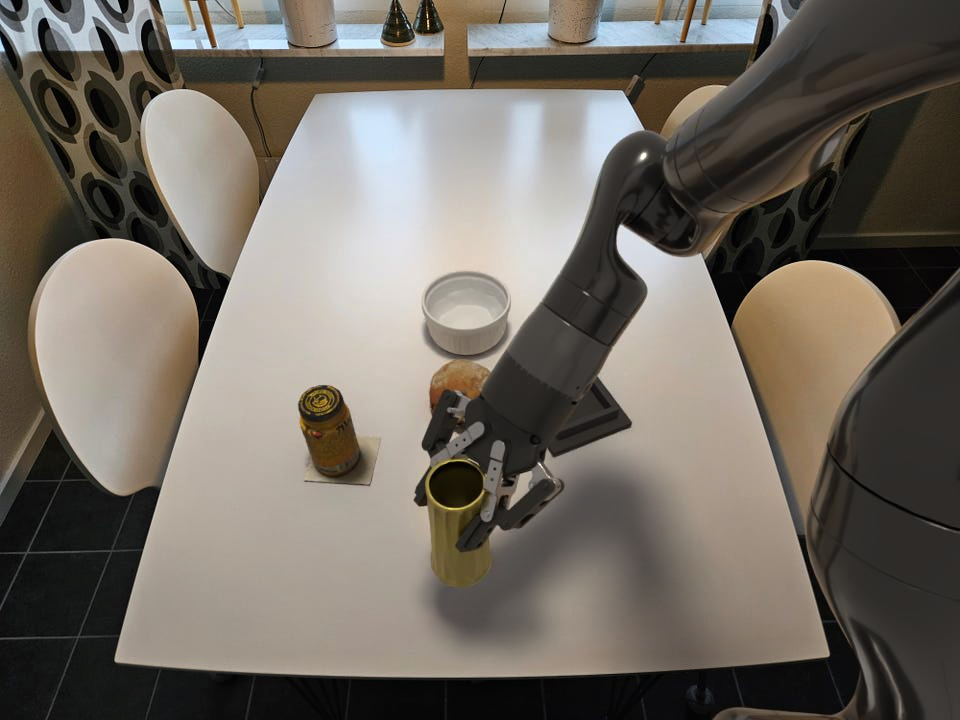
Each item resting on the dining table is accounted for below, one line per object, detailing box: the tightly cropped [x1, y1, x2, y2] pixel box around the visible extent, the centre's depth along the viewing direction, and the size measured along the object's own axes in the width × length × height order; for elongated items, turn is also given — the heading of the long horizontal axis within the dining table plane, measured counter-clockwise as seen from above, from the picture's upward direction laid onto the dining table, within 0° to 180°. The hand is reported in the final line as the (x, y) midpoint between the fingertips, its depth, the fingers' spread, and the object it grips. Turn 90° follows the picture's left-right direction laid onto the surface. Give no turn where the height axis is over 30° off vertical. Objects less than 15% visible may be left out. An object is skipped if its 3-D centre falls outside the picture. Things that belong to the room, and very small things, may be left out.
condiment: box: [297, 384, 382, 485], centre depth 80 cm, size 7×8×12 cm
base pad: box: [547, 375, 633, 458], centre depth 88 cm, size 12×12×3 cm
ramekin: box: [421, 269, 512, 356], centre depth 97 cm, size 13×13×7 cm
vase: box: [425, 458, 492, 588], centre depth 60 cm, size 6×6×14 cm
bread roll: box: [428, 359, 492, 431], centre depth 89 cm, size 10×10×8 cm
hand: (442, 525), depth 57 cm, fingers closed on vase, 5 cm apart
